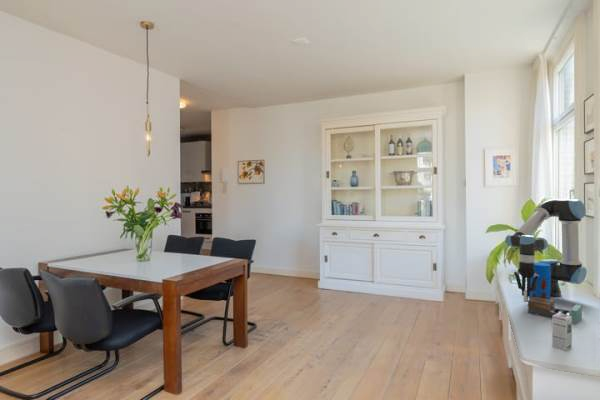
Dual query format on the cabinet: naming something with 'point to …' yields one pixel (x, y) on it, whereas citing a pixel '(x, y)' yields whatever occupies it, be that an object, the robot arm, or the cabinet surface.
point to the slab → (541, 304)
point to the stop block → (576, 313)
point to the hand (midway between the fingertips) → (525, 301)
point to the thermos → (541, 281)
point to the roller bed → (550, 313)
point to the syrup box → (562, 331)
